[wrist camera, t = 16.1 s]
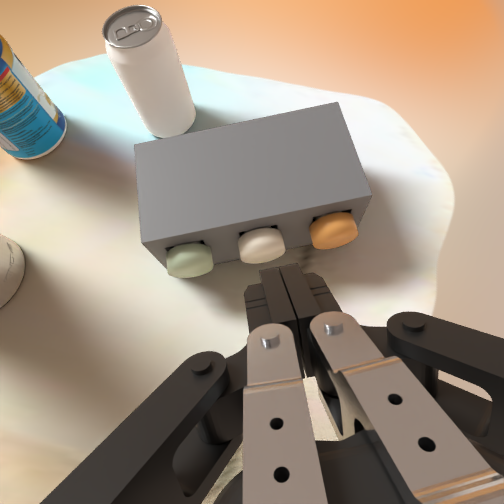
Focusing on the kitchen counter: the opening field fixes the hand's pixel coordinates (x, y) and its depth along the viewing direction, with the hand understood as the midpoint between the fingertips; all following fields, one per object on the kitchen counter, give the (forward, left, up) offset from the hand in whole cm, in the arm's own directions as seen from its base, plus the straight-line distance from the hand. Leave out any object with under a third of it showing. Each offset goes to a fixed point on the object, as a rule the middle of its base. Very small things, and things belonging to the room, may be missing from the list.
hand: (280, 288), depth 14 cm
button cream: (0, +10, -17) cm, 20 cm away
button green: (-7, +10, -17) cm, 21 cm away
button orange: (+6, +10, -17) cm, 21 cm away
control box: (0, +14, -20) cm, 25 cm away
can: (-8, +29, -20) cm, 36 cm away
